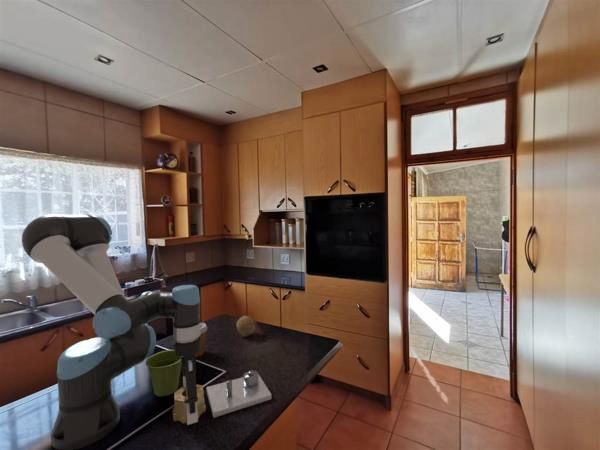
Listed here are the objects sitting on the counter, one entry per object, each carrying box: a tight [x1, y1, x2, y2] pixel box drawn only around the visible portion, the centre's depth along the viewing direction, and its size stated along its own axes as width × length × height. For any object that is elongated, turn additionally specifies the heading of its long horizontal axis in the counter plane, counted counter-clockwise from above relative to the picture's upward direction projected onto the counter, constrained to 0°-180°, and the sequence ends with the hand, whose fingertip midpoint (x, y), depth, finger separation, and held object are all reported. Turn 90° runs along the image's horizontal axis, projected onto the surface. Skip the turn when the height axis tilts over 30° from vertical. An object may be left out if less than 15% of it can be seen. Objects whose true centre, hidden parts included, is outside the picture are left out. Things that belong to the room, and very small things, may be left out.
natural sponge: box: [236, 315, 256, 338], centre depth 138 cm, size 9×9×10 cm
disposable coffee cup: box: [195, 322, 208, 358], centre depth 120 cm, size 10×10×12 cm
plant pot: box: [145, 349, 183, 398], centre depth 94 cm, size 12×12×11 cm
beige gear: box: [172, 383, 207, 424], centre depth 84 cm, size 9×9×6 cm
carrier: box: [205, 369, 272, 418], centre depth 91 cm, size 18×14×6 cm
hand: (190, 408), depth 84 cm, fingers open, 13 cm apart
